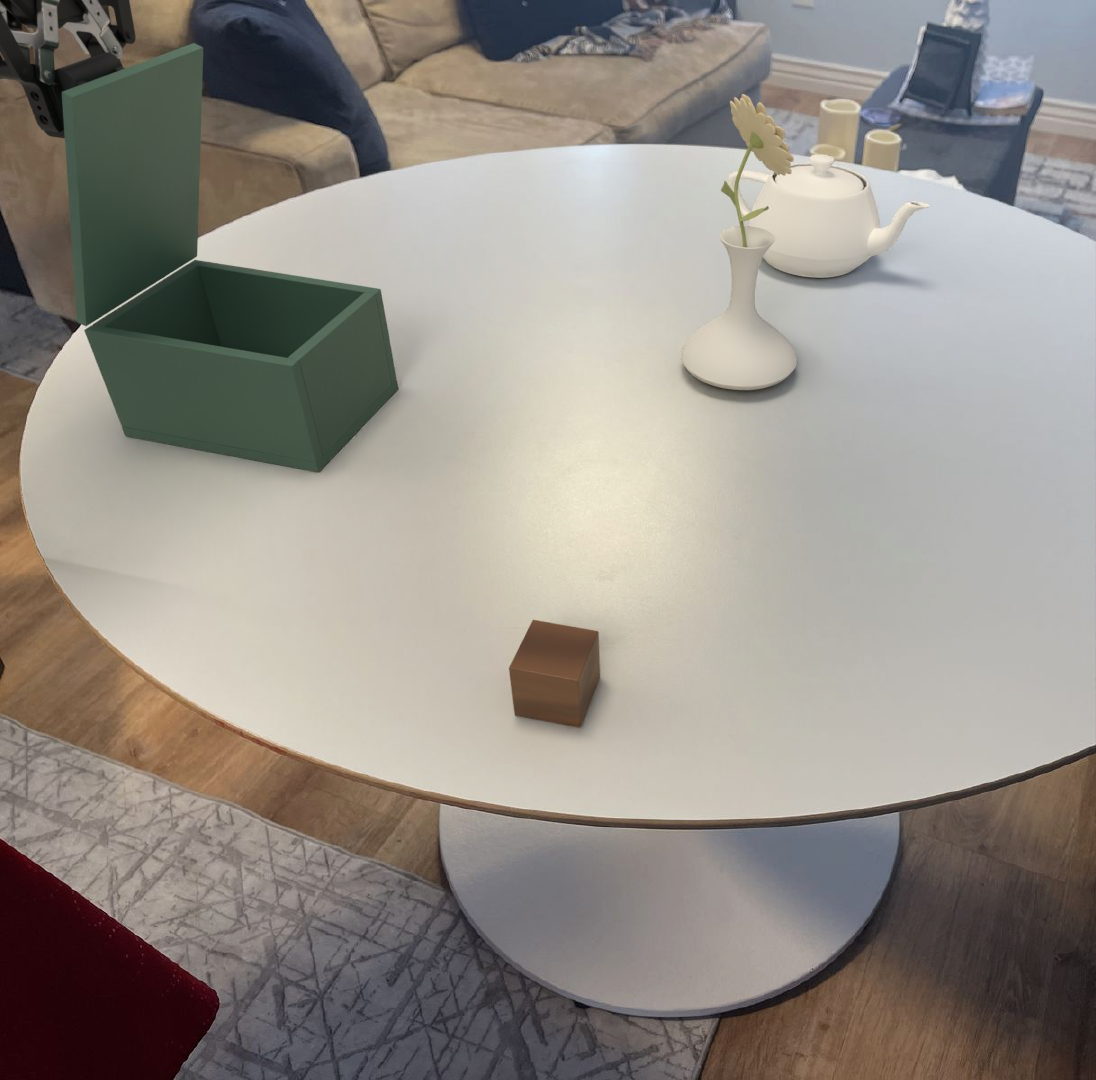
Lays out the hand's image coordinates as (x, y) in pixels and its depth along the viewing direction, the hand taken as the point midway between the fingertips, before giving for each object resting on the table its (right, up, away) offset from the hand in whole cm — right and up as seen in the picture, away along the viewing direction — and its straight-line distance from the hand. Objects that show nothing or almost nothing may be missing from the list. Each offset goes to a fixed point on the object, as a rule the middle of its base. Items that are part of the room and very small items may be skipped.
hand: (90, 122), depth 75 cm
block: (+37, -42, -10) cm, 56 cm away
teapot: (+59, +2, +45) cm, 74 cm away
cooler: (+7, -20, +14) cm, 25 cm away
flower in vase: (+49, -14, +24) cm, 56 cm away
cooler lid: (+3, -4, +3) cm, 5 cm away
